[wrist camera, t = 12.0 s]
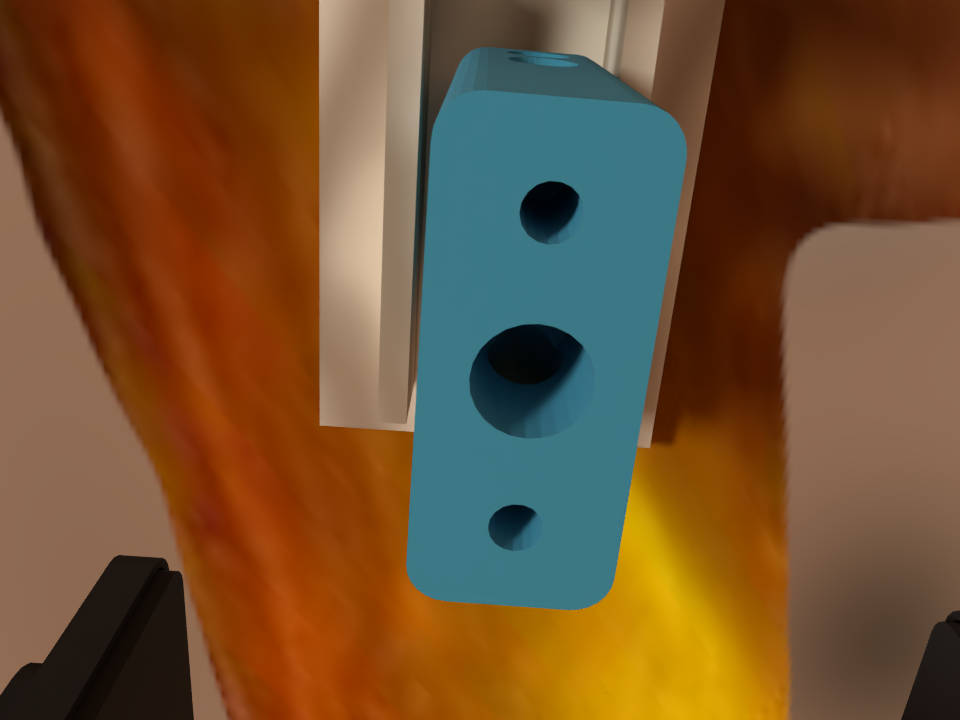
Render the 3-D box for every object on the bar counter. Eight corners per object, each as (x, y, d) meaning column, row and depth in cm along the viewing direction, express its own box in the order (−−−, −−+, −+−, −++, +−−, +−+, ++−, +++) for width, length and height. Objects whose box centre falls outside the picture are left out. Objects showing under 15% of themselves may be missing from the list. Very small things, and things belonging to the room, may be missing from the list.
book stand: (733, -107, 34) (908, -177, 20) (644, 433, 44) (720, 649, 29) (326, -140, 34) (206, -234, 20) (325, 411, 43) (244, 618, 29)
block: (463, 35, 35) (434, 85, 16) (587, 45, 35) (695, 107, 17) (444, 315, 40) (404, 597, 21) (553, 323, 40) (608, 612, 21)
